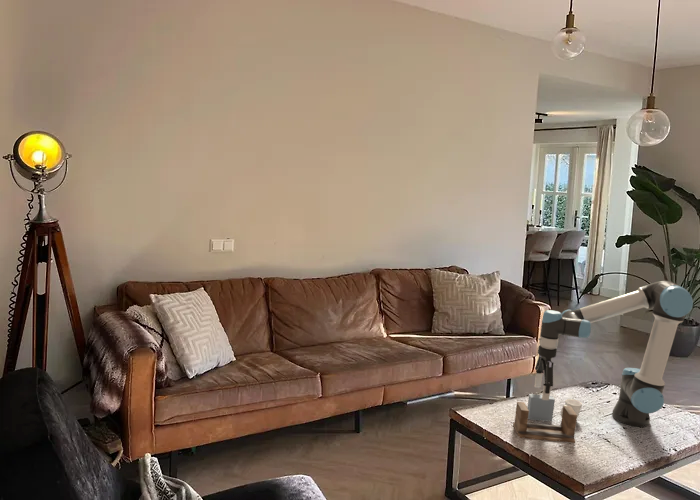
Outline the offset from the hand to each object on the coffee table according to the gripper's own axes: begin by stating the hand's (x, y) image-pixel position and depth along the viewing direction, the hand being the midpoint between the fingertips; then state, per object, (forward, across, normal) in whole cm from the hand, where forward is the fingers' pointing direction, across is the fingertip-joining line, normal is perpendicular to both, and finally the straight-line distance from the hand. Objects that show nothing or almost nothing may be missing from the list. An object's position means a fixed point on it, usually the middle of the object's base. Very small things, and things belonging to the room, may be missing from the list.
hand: (541, 393), depth 254 cm
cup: (+11, -1, +14) cm, 18 cm away
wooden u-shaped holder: (+11, +15, -1) cm, 19 cm away
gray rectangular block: (+11, 0, +1) cm, 11 cm away
